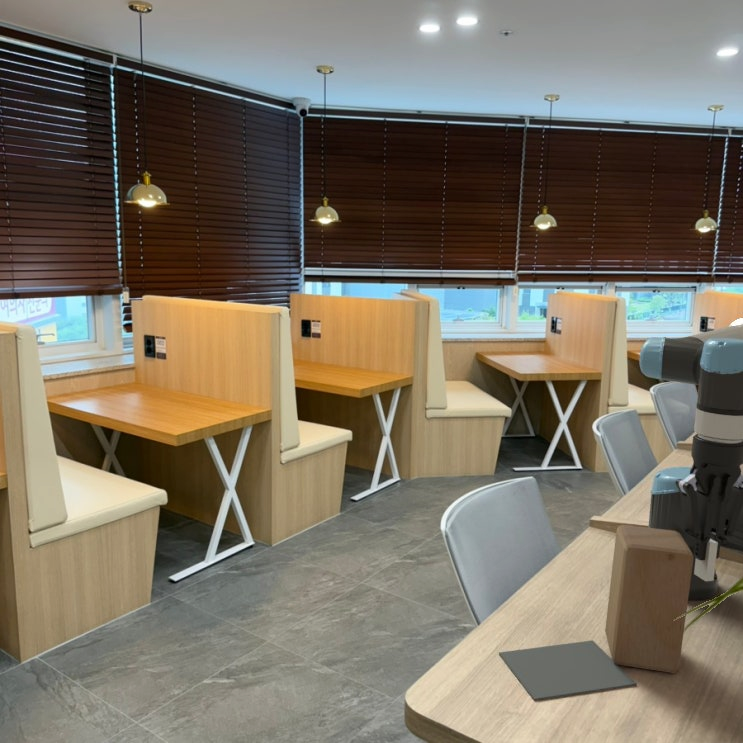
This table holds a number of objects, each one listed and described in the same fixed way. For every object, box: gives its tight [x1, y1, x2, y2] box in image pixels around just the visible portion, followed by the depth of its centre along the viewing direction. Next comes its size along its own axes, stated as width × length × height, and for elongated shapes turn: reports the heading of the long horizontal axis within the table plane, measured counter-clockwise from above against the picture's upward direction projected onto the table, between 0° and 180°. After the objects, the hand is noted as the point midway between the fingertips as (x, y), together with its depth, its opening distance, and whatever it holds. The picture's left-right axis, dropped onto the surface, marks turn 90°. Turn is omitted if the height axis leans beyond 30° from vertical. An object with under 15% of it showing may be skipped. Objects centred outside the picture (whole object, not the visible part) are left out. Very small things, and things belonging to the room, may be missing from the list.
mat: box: [498, 640, 638, 701], centre depth 107 cm, size 17×12×1 cm
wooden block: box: [604, 524, 693, 674], centre depth 110 cm, size 10×10×20 cm
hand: (703, 577), depth 113 cm, fingers closed
